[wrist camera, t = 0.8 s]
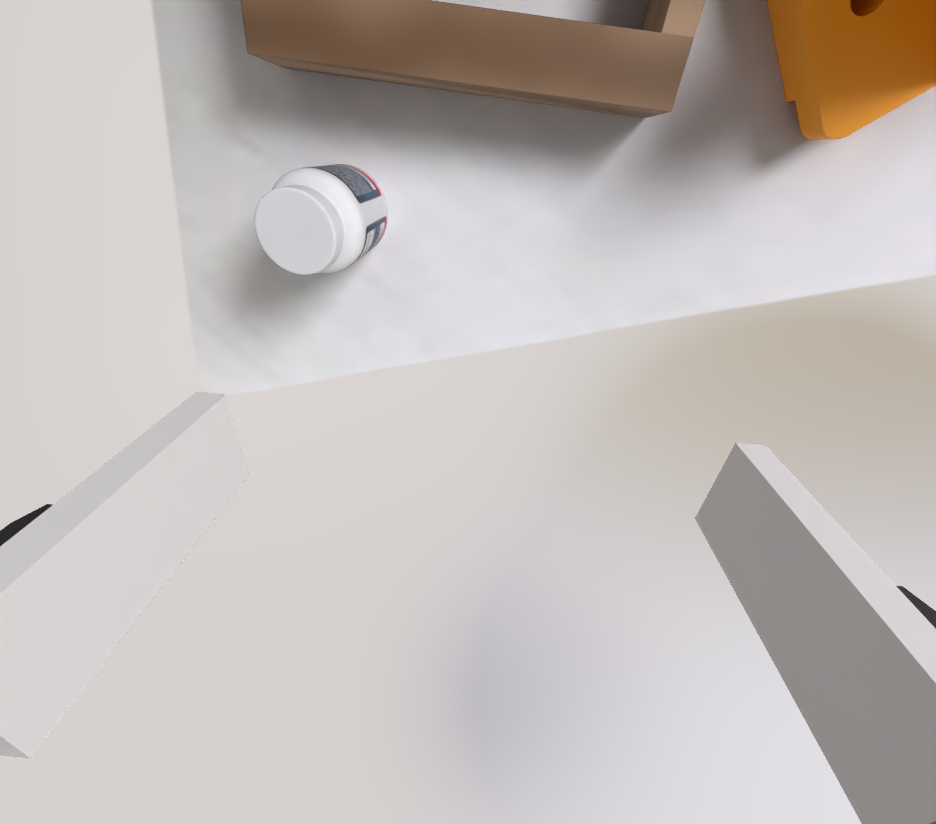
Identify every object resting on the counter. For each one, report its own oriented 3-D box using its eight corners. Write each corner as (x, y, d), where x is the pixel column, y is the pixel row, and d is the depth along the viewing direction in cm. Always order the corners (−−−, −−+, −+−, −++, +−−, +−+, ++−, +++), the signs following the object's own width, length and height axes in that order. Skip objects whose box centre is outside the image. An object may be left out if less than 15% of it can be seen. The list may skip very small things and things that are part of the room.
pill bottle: (299, 171, 26) (219, 178, 18) (377, 157, 25) (326, 158, 18) (326, 257, 29) (266, 293, 21) (397, 246, 28) (361, 280, 21)
